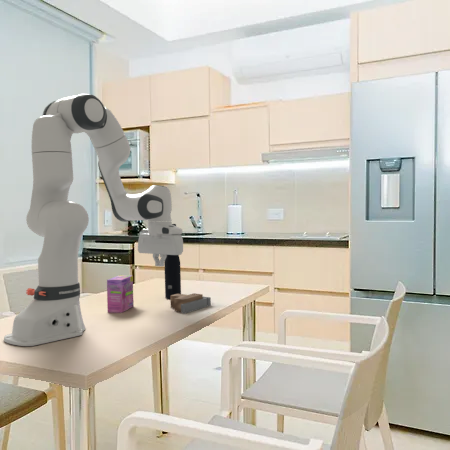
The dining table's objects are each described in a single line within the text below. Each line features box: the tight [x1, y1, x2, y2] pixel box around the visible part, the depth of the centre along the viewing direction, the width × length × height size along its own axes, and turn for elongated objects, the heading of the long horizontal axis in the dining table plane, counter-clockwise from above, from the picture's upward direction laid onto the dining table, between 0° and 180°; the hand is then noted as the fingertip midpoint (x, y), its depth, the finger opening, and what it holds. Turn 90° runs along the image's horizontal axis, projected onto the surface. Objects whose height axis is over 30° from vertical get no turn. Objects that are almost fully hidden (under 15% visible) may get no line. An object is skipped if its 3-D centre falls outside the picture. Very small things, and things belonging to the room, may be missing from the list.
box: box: [106, 274, 135, 314], centre depth 163 cm, size 10×6×12 cm, turn 168°
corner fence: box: [180, 296, 212, 314], centre depth 163 cm, size 15×10×3 cm, turn 145°
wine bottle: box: [163, 223, 182, 300], centre depth 183 cm, size 6×6×30 cm
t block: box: [169, 293, 204, 313], centre depth 163 cm, size 9×11×4 cm
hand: (159, 266), depth 168 cm, fingers closed
